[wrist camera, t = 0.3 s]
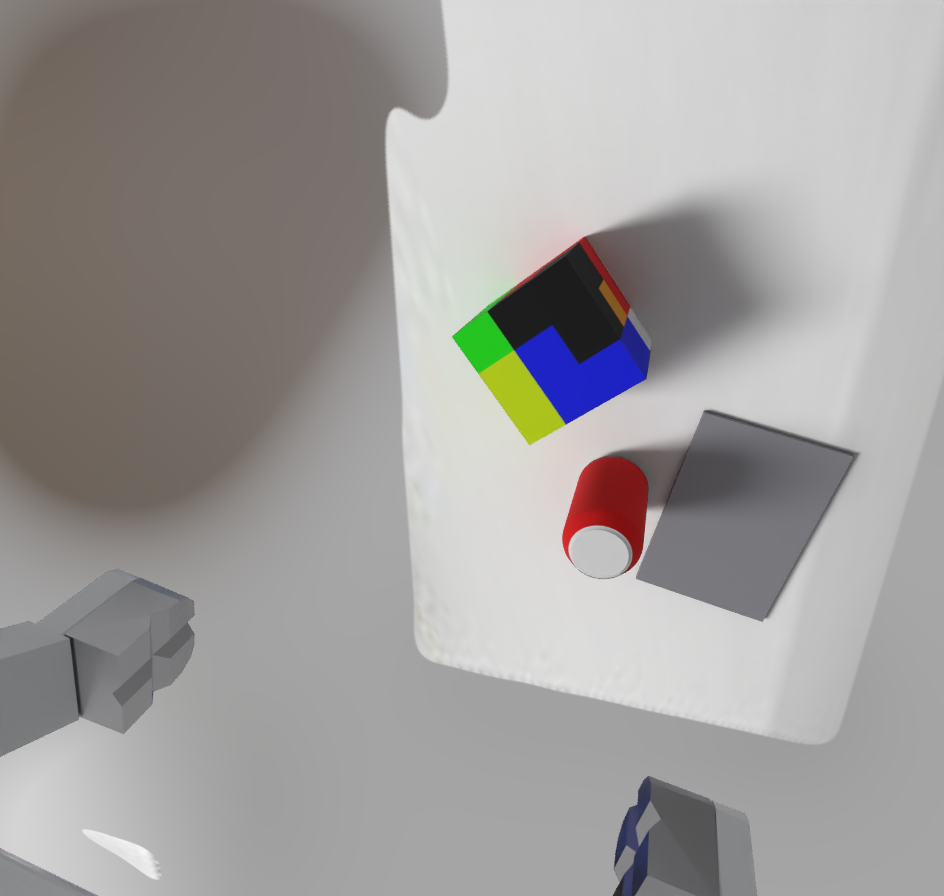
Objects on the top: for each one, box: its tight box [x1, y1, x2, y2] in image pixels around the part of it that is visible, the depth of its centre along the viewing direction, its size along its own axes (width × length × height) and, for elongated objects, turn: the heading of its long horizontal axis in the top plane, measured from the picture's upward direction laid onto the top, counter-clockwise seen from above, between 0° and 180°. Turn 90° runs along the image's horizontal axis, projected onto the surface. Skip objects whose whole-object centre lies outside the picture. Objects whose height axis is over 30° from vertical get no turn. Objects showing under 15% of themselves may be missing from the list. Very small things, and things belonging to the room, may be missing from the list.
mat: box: [636, 411, 854, 622], centre depth 58 cm, size 18×12×1 cm, turn 168°
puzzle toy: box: [452, 237, 652, 445], centre depth 51 cm, size 10×10×10 cm
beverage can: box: [562, 456, 648, 579], centre depth 54 cm, size 6×6×12 cm
